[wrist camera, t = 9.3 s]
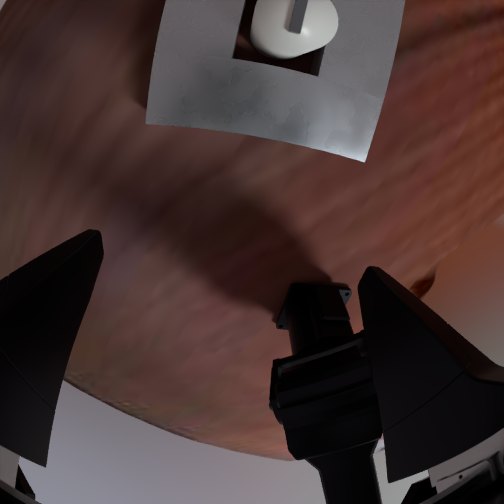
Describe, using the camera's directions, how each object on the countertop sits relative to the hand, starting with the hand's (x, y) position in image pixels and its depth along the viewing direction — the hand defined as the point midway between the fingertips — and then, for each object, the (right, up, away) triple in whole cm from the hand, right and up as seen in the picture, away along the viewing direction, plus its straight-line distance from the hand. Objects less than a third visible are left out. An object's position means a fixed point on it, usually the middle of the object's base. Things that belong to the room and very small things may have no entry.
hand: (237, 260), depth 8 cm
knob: (+2, +14, +5) cm, 15 cm away
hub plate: (+2, +14, +5) cm, 15 cm away
